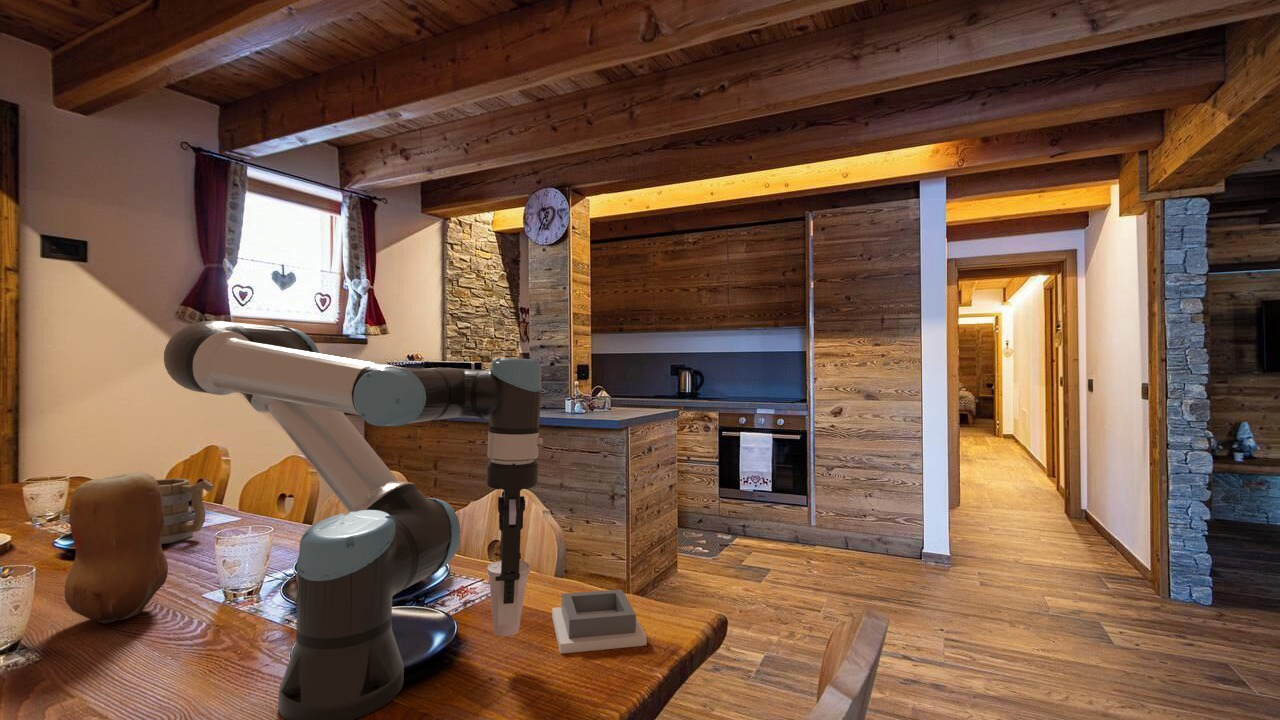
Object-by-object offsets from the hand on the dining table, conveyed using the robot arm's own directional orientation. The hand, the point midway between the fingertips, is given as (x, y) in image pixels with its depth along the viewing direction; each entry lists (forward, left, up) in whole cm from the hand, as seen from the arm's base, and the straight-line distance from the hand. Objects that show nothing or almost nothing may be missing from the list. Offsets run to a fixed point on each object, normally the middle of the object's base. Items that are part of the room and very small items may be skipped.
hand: (506, 612), depth 87 cm
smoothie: (0, 0, -3) cm, 3 cm away
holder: (+15, +9, -8) cm, 19 cm away
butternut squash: (-65, +29, -8) cm, 71 cm away
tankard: (-80, +79, -8) cm, 112 cm away
